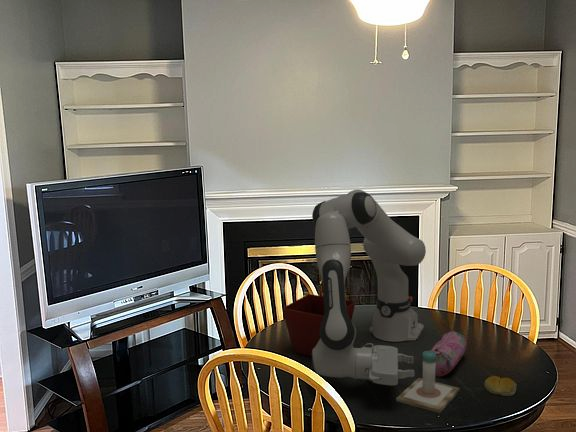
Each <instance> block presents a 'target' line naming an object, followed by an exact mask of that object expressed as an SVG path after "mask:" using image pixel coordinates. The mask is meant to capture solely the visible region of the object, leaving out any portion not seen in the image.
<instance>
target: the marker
mask: <svg viewBox="0 0 576 432" xmlns="http://www.w3.org/2000/svg"><path fill="white" fill-rule="evenodd" d="M435 366H436V353H435V352H433V351H431V350H425V351H423V352H422V378H421V379H422V392H423V393H424V394H426V395H433V394H434V393H435V382H436V376H435Z"/></svg>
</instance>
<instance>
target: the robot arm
mask: <svg viewBox="0 0 576 432" xmlns="http://www.w3.org/2000/svg"><path fill="white" fill-rule="evenodd" d="M311 218H312V222H313V225H314V227H315V231H314V248H315V249H314V250H315V258H316V263H317V267H318V271H319V274H320V277H321V280H322V287H323V296H324V308H325V311H324V317H323V320H322V322H321V325H320V330H319V333H320V340H319V342H318V343H317V345H316V346H315V347H314V348H313V350H312V356H311V363H312V367H313V369H314V371H315V372H316V373H317V374H318V375H320V376H323V377H329V378H337V379H338V378H339V379H341V378H348V377H349V378H352V379H358V380H359V379H360V380H369V381H371V382H372V383H374V384H377V385H383V386H397V385H398V384H399V379H406V378H413V377H415V376H416V375H415V369H413V368H408V369H405V370H403V369H399V363H402V362H403V363H407V364H414V361H415V360H414V356H413V355H407V354H404V353H400V352H399V348H398V347H395V346H391V345H380V344H377V345H374V344H373V343H371V342H370V343H369V342H368V343H366V344H364V345H363V346H362V347H354V343H355V340H356V337H357V329H356V326H355V324H354V323H353V320H352V321H351V320H350V318H349V316H348V314H347V310H346V300H347V299H346V287H345V285H346V284H345V283H346V278H347V275H348V272H349V271H350V268H351V264H352V263H351V262H352V260H351V259H352V248H351V247H352V246H351V239H350V232H349V230H350V229H353V228H356V229H357V230H358V232H360V234H361V235H362V236H363V237H364V239H363V244H362V247H363V250H364V253H365V254H366V255H367V256H368V257H369V258H370V260H371V262H372V264H373V267H374V270H375V273H376V278H377V297H376V301H375V302H376V303H375V304H376V309H375V310H373V315H372V316H373V319H372V326H370V327H369V332H370V333H372V335H373V336H374V337H375V338H376V339H379V340H381V341H386V342H392V343H393V342H394V343H395V342H396V343H397V342H406V341H417V340H418V338H419V336H420V335H421V333H422V332H421V331H423V330H424V329H425V326H424V324H422V323H420V322H418V321H419V319H418V316H419V315H418V313H417V312H416V311H415V310H414V309H413V308H412V307H411V303H412V302H413V299H414V298H413V296H410V295H409V277H408V275H407V274H405V272H404V271H403V270H402V269H401V266H418V265H420V264H421V263H422V262H423V261H424V259H425V256H426V252H427V251H426V245H425V242H424V241H423V240H422V239H420V238H418V237H416V236H414V235H412V233H410V232H408V231H407V230H406V229H405V228H403V227H402V226H401V225H400V224H398V223H396V222H395V221H394V220H393V219H392V218H391V217H390V216H389V215H388V214H387V213H386V212H385V210H383V208H382V207H381V205H380V204H379V203H378V202H377V201H376V200H375V199H374V197H373V196H372V195H371V194H369V193H368V192H366V191H364V190H362V189H353V190H350V191H349V192H348V193H347V194H344V195H343V194H342V195H339V196H336V197H333V198H330V199H328V200H325V201H321V202H319V203H318V204H316V205H315V207H313V211H312V214H311ZM400 265H401V266H400ZM416 339H417V340H416Z"/></svg>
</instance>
